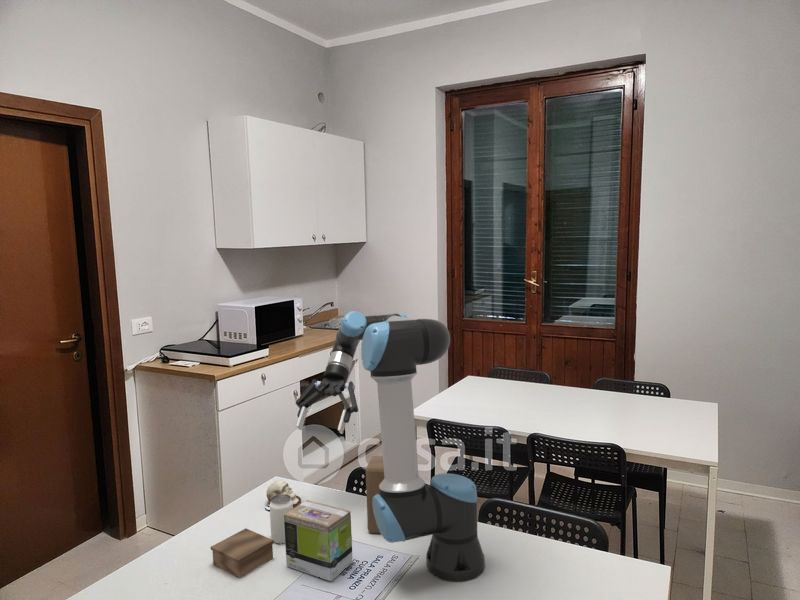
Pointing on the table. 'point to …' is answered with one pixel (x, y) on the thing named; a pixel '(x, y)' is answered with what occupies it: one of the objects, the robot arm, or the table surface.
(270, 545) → the pedestal
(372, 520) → the block
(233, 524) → the table surface
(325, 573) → the tea box
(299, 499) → the skull
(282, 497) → the can
